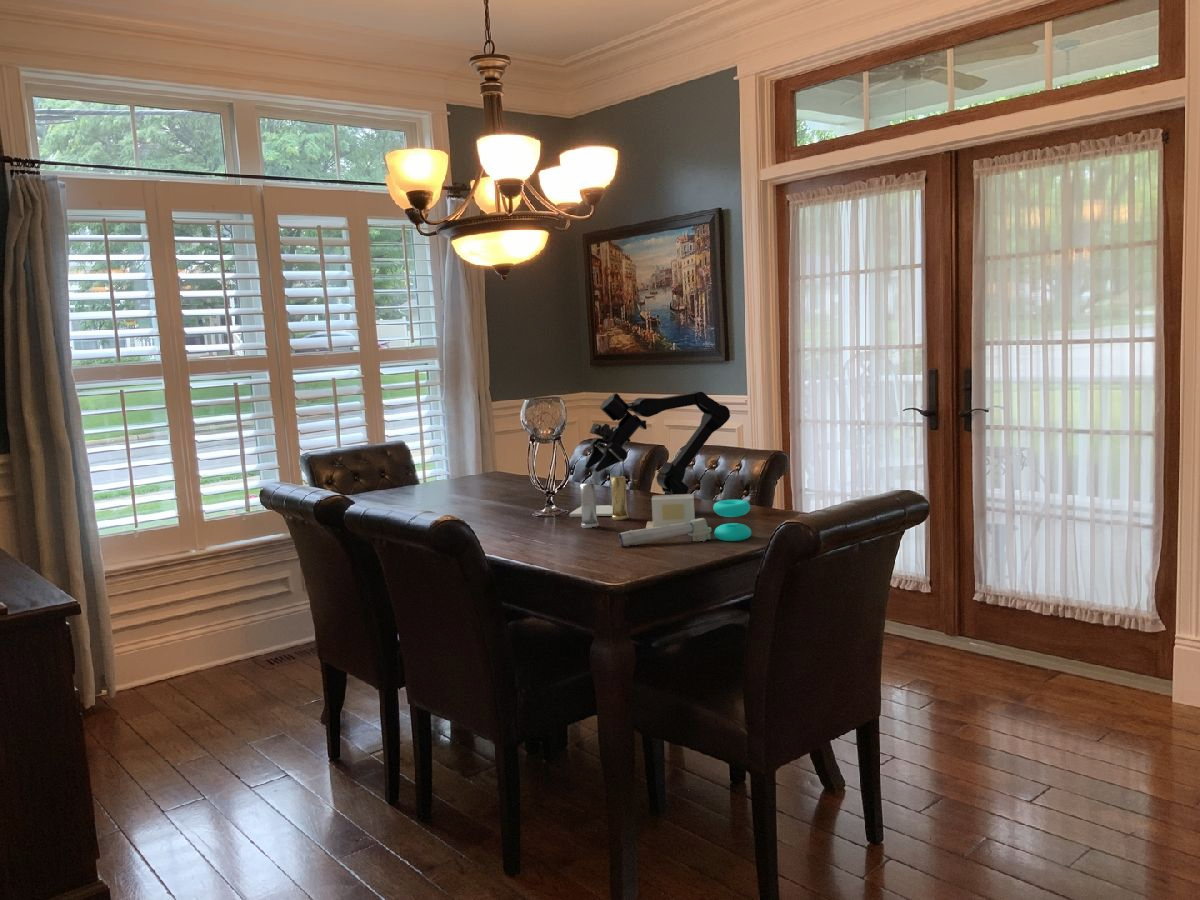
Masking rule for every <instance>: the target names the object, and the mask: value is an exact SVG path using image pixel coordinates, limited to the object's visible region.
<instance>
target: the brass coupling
mask: <svg viewBox="0 0 1200 900" xmlns="http://www.w3.org/2000/svg"><path fill="white" fill-rule="evenodd" d="M626 486H627V485H626V476H622V475H621V476H620V475H617V476H611V477H610V489H611V505H612V509H613V515H612V517H611V520H612V519H613V520H612V521H624V520H623V519H627V518H628V519H629V513H628V508H627V506H628V505H627V504H628V503H627V488H626ZM628 519H627V520H628Z"/></svg>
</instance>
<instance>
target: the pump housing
mask: <svg viewBox="0 0 1200 900" xmlns="http://www.w3.org/2000/svg"><path fill="white" fill-rule="evenodd" d="M694 496H695V494H694V493H687V494H679V495H665V494H658V495H657V494H655V495H652V497H651V512H652V514H651V517H652V520H651V521H647V522H646V526H645V529H646V528H652V527H659V526H666V525H672V524H679V523H686V522H691V520H694V519H696V517H695V516H696V515H695V514H696V513H695V497H694Z"/></svg>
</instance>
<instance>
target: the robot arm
mask: <svg viewBox="0 0 1200 900" xmlns="http://www.w3.org/2000/svg"><path fill="white" fill-rule="evenodd" d="M690 406H696V407H697V408H698V410H700V412H702V413H703V414H702V416H701V419H700V424H699V426H698V428H697V429H696V430H695V431H694V432H693V434H692V436H691V437H690V438H689V439H688V441H687V442H686V443H685V445H684V446H683V448H682V449H681V450H680V451H679V453H678V455H676V457H675V458H674V459H673V460H672V461H671V462H669V461H664V462H663V464H662V465H661V467H660V468H659V469H658V470H657V475H656V477H655V479H656V483H657V484H658V485H659V487H661V489H662V492H663V493H664V495H679V494H688V492H689V489H690V487H689V486H688V485H686V483H684V482H683V480H684V479H685V475H686V471H687V468H688V467H689V465H690V464H691V463H692V461H693V459H694V458H695V457H696V456H697V454H698V453H699V452H700V451H701V449H702V448H703V446H704V445H705V444H706V443H707V441H708V440H709V438H710V437H711V436H712V434H713V433H714V432H716V431H718V429H721V428H722V427H723V426H724V425H725V424H726V423H727V422H728V421H729V420H730V417H731V412H730V408H728V406H726V405H724V404H720V403H719V402H718V401H716V400H714V399H712V398H711V397H709V396H708V395H707V394H706V393H705V392H704V391H696V390H695V391H692V392H689V393H682V394H677V395H670V396H665V397H664V396H663V397H638V398H635V399H634V400H633V401H632V402H626V401H624V399H623V398H622V397H621V396H620V395H619V394H618V393H617V392H613V394H612V395H610V396H608V397H607V398H606V399H605V400H604V401H603V402H602V403H601V404H600V407H599V409H600V410H601V411H602V412H603V413H604V414H605V415H607V417H608V418H610V419H611V420H612V421H613V422H614V421H617V422H618V421H619V422H618V423H617V424H616V425H615V426H611V427H610V424H607V423H605V422H604V423H602V424H598V423H593V424H592V425H591V428H590V431H589V433H590V434H592V435H596V436H599V437H594V438H593V439H592V440H591V441H590V447H591V453H590V455H589V457H588V460H587V462H586V463H585V466H584V467H585V468H586V469H590V468H592V467H593V466H595V465H596V464H597V465H596V467H595V468H594V471H595V472H596V473H598V472H601V471H603V470H605V469H607V468H609V467H612V466H613V465H616V464H617V463H620V462H621V461H622V462H624V461H625V459H627V457H628V451H627V450H626V449H624V448H623V447H624V446H625V444H626V443H630V442H631V437H632V436H633V435H634V434H635V433H636V432H637V430H638V429H639V428H640V429H642V430H647V420H645V419H641V418H640V417H643V418H650V417H652V416H655V415H658V414H660V413H662V412H663V411H666V410H672V409H678V408H684V407H690ZM631 412H632V413H634V414H632V413H631Z"/></svg>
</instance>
